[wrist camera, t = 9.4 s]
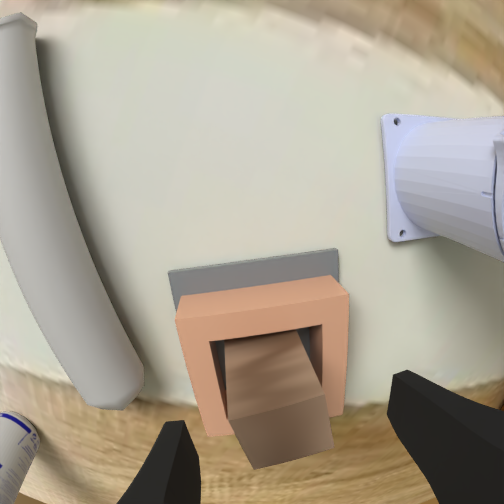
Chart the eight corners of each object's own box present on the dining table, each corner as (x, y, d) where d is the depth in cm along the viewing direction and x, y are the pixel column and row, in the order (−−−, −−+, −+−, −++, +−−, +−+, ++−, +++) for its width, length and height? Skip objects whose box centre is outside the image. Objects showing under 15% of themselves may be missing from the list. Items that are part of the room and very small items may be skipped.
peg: (286, 309, 19) (324, 393, 12) (299, 359, 20) (334, 447, 13) (223, 327, 19) (228, 420, 11) (241, 375, 20) (253, 469, 13)
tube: (165, 408, 17) (29, 1, 9) (91, 436, 15) (-49, 43, 8) (153, 365, 21) (43, 39, 14) (92, 390, 20) (-21, 71, 12)
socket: (335, 248, 19) (357, 265, 16) (334, 397, 22) (348, 426, 19) (168, 270, 18) (158, 293, 15) (205, 417, 22) (204, 450, 18)
